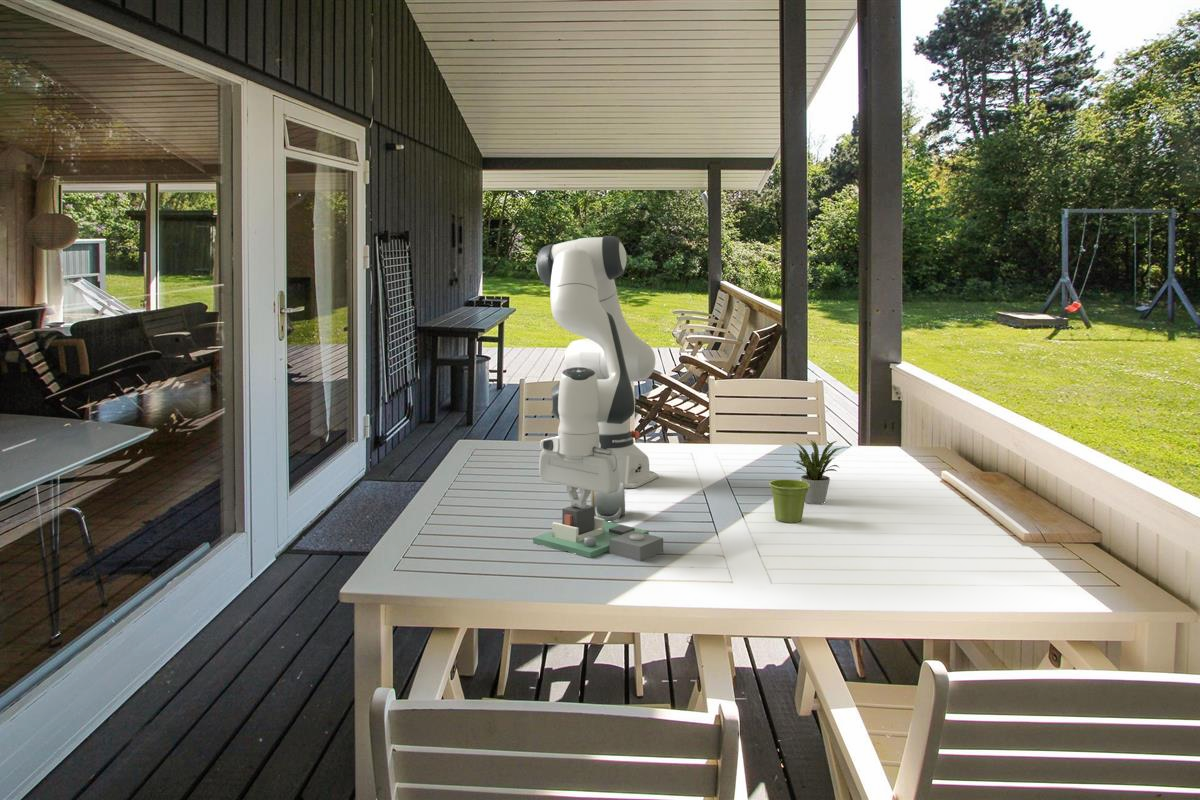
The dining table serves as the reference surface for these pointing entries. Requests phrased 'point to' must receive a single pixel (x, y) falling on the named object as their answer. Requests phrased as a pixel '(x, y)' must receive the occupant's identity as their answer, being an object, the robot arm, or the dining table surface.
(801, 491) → the plant pot
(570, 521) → the plug
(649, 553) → the gray push button box
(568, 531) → the board
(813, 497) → the house plant
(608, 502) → the ceramic mug
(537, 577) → the dining table surface
